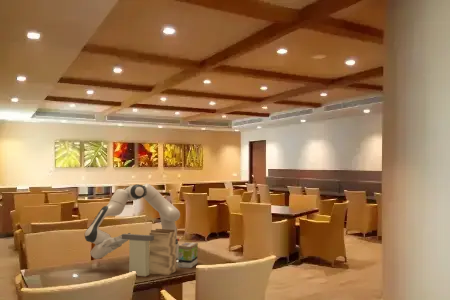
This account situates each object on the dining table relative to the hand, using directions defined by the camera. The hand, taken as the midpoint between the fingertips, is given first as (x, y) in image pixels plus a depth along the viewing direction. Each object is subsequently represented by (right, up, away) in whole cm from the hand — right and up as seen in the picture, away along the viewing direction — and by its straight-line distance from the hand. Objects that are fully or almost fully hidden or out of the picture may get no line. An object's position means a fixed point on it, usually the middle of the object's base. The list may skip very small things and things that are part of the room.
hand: (125, 234), depth 265 cm
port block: (+10, -25, -5) cm, 27 cm away
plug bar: (+8, -2, -3) cm, 9 cm away
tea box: (+39, -26, +20) cm, 51 cm away
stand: (+24, -25, +1) cm, 34 cm away
